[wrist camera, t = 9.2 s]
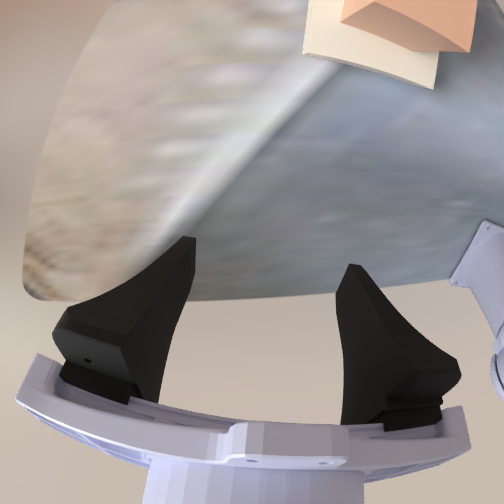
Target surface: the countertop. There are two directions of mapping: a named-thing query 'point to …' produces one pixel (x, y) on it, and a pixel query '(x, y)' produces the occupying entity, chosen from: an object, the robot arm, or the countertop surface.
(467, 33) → the terracotta brick
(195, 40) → the countertop surface
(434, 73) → the cream base brick
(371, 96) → the countertop surface
